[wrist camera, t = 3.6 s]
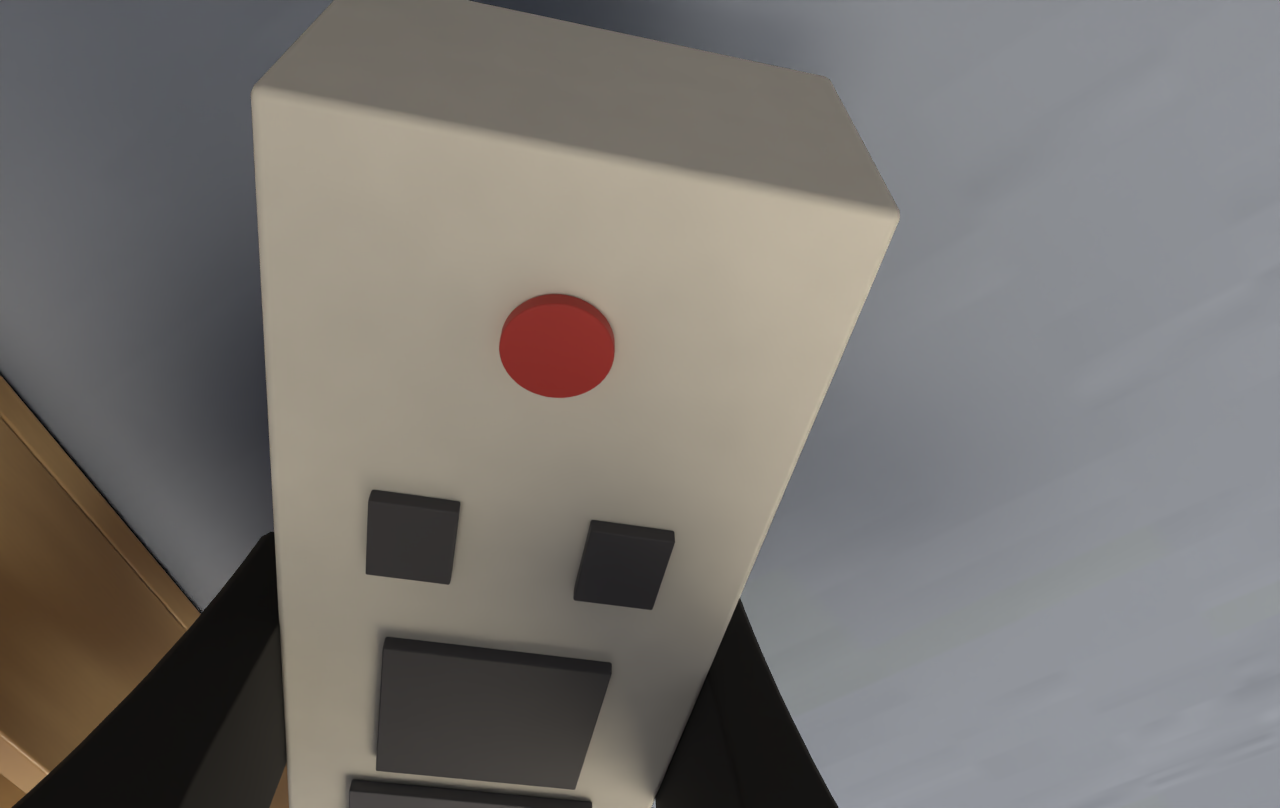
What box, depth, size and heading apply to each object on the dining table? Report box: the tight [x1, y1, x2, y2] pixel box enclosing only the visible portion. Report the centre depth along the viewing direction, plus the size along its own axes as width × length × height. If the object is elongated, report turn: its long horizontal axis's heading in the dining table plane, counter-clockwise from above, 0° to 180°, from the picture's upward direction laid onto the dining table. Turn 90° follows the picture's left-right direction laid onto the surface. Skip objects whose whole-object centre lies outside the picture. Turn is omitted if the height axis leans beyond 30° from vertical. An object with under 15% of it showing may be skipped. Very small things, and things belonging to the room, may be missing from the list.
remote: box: [251, 0, 900, 808], centre depth 12 cm, size 14×5×3 cm, turn 168°
